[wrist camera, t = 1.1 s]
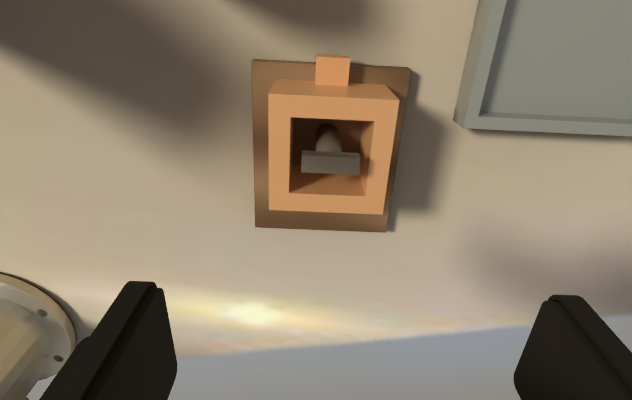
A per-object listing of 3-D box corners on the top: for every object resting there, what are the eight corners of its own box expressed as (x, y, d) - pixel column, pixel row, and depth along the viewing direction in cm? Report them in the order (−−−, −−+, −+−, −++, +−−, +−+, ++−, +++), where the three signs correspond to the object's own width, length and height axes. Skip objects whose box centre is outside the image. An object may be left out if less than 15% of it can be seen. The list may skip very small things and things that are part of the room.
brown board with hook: (383, 225, 30) (400, 277, 25) (257, 220, 30) (243, 271, 24) (407, 67, 25) (436, 86, 19) (253, 59, 25) (235, 75, 19)
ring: (372, 184, 28) (382, 214, 24) (275, 180, 28) (268, 209, 23) (388, 58, 24) (404, 68, 20) (275, 52, 24) (268, 61, 20)
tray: (629, 128, 27) (652, 137, 25) (453, 119, 27) (462, 128, 25) (725, -93, 21) (763, -102, 20) (502, -108, 21) (519, -118, 19)
